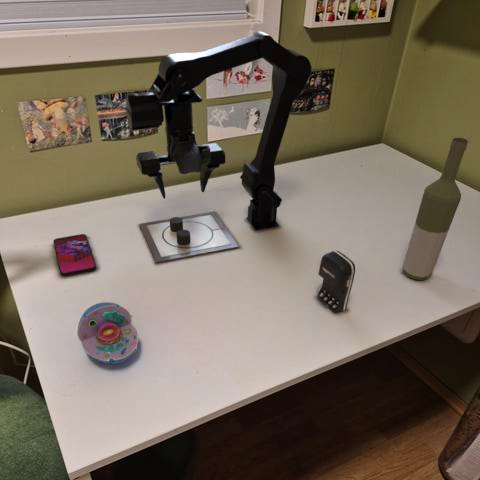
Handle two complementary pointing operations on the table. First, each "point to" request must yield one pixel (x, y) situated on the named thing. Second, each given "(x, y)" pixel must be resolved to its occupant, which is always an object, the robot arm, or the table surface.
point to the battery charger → (336, 280)
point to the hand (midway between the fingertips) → (183, 194)
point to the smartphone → (74, 254)
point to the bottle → (435, 217)
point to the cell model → (107, 332)
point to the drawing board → (201, 235)
